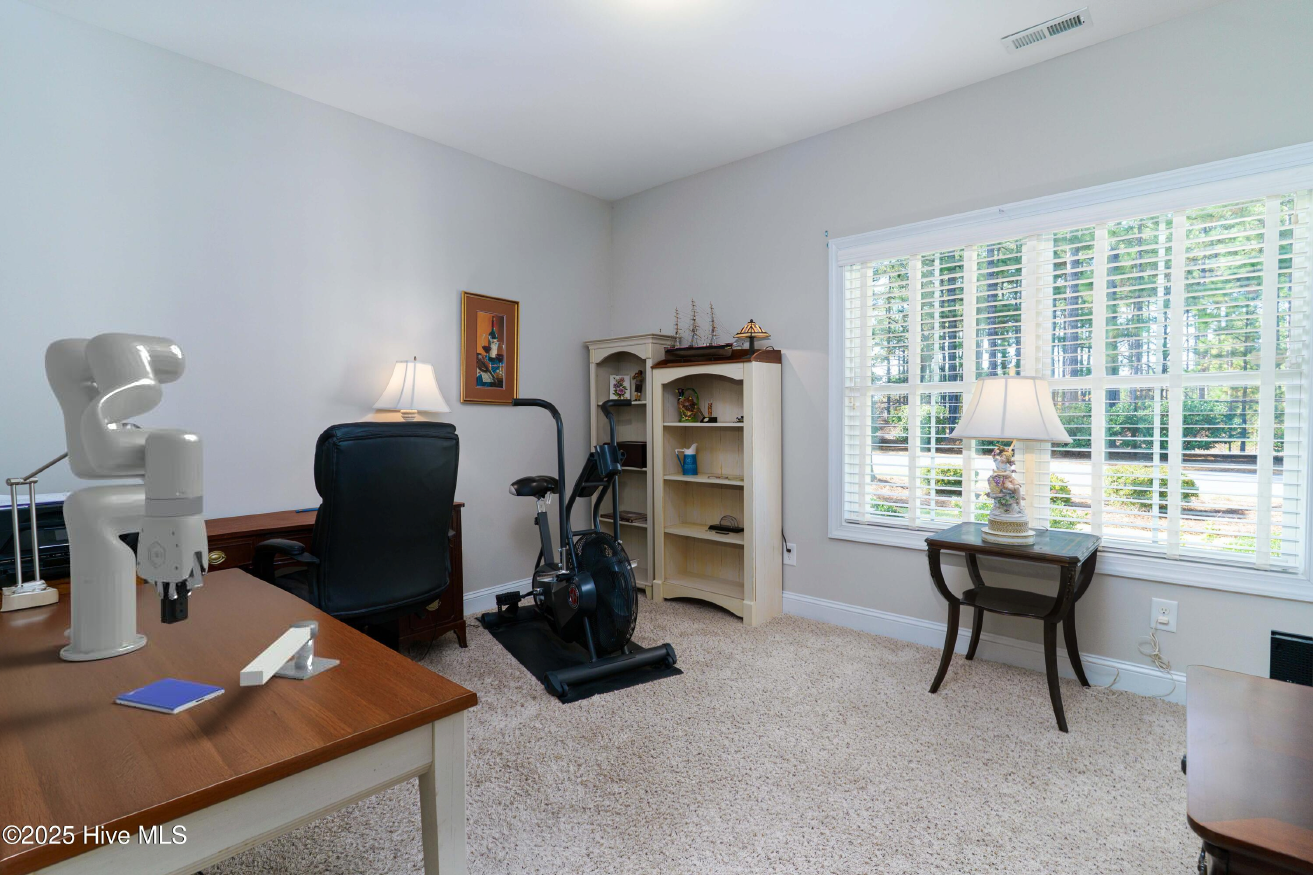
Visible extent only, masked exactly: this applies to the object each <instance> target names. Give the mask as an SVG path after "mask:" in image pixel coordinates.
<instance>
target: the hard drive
mask: <svg viewBox="0 0 1313 875" xmlns="http://www.w3.org/2000/svg"><path fill="white" fill-rule="evenodd" d="M222 693H223V694H225V688H224V687H220V686H213V685H208V684H203V683H199V682H198V683H197V682H193V681H186V680H182V679H181V680H179V679H175V678H170V677H167V678H164V679H160V680H158V681H155V682H152V683H150V684H147V685H145V686H144V685H143V686H142V687H138V688H136V689H133V690H130V691H128V692H125V693H122V694H119V695H118V696H117V697H116V701H115V703H116V704H120V703H121V704H120V705H127V706H131V707H135V706H136V707H135V708H141V709H147V710H151V711H152V710H153V711H157V712H162V713H167V714H172V715H173V714H178V713H179V712H181V711H184V710H187V709H189V708H191V707H193V706H196V705H199V704H201V703H204V702H205V700H206V701H207V700H210V699H213V698H215V696H216V697H218V696H221V695H222ZM217 695H218V696H217Z"/></svg>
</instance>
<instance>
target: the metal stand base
mask: <svg viewBox="0 0 1313 875" xmlns="http://www.w3.org/2000/svg"><path fill="white" fill-rule="evenodd" d="M314 637H315V636H314ZM314 637H312V638H310V639H309V640H308V641H307V642H306V643H305V644H304V645H303V646H302V647H301V648H300V649H298V650H297V651H296V652H295V653H294V654H293V656H294V659H293V660H290V661H288V662H285V663H284V664H283V665H282V666H281V667H280V668H279V669H278V670H277V671H276V672H275V673H274V674H273V675H272V676H274V675H275V677H281V678H289V679H294V678H296V680H301V679H303V680H302V681H305V680H307V679H309V678H311V677H313V676H316V675H317V674H320V673H322V672H324V671H326V670H328V669H331V668H333V667H335V666H337V665H339V664H340V659H334V658H326V657H319V656H314V655H315V654H314V652H315V651H314V650H315V649H314V648H315V647H314V646H315V645H314V642H315V641H314Z"/></svg>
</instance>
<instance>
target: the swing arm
mask: <svg viewBox="0 0 1313 875" xmlns="http://www.w3.org/2000/svg"><path fill="white" fill-rule="evenodd" d="M318 635H319V622H318V621H317V620H302V621H296V622H294V623H291V624H290V625H289V629H288V630H287V631H286V632H285V633H284V634H282V635H281V636H280V637H279V638H278V639H277V640H276V641H274V642H273V643H272V644H271V645H270V646H268V648H266V649H264V651H263V652H261V653H260V654H259V655H258V656H257V657H256V658H255V659H253V660H252V661H251V662H250V663H249V664H248V665H247V666H245V667H244V668H243V669H241V671H240V672H239V686H240V687H246V686H258V685H264V684H265V683H266V682H267V681H268V680H269V679H270V678H271V677H272V676H274V675H273V674H274V673H275V672H276V671H277V670H278V669H279V668H280V667H281V666H282V665H283V664H285V663H287V661H289V659H291V658H292V656H294V653H295V652H296V651H297V650H298V649H300V648H301V647H302V646H303V645H304V644H305V643H306V642H307V641H308V640H309V639H310V638H312V637H316V636H318Z"/></svg>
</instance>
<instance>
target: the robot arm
mask: <svg viewBox="0 0 1313 875" xmlns="http://www.w3.org/2000/svg"><path fill="white" fill-rule="evenodd" d="M44 368H45V374H46V377H47V381H48V384H49V386H50V389H51V391H52V392H53V394H54V396H55V398H56V399H57V401H58V404H59V406H60V409H61V411H62V414H63V422H64V431H65V441H66V449H67V457H68V458H67V460H68V464H69V468H70V470H71V474H73V476H74V477H76V478H77V479H80V480H86V481H110V480H111V481H112V480H133V479H139V480H141V481H142V482H143V483H134V484H125V483H124V484H109V485H107V484H106V485H95V486H88V487H83V488H80V489H76V490H74V491H73V492H71V493H70V494H68V495H67V496H66V498H65V500H64V502H63V504H62V512H63V519H64V524H65V527H66V528H65V529H66V533H67V539H68V544H69V546H68V547H69V559H70V560H69V561H70V569H69V570H70V620H71V621H70V623H71V624H70V628H69V629H66V630H65V631H64V633H63V635H64V637H66V638H69V639H70V640H69V641H70V644H68V645H66V646H64V647H63V648H62V649H61V650H60V651H59V652H60V653H59V657H60V658H61V659H62V660H65V661H72V662H73V661H74V662H81V661H94V660H101V659H107V658H111V657H116V656H121V655H124V654H127V653H131V652H134V651H136V650H138V649H140V648H142V647H144V646H145V645H146V644H147V636H145V635H144V634H141V633H137V575H138V577H140V578H141V579H144V580H147V582H148V583H150V584H151V585H153V586H155V588H156V589H157V595H158V598H159V599H160V622H161V624H167V625H173V624H175V623H179V622H183V621H186V620H188V618H189V596H190V595H191V594H192V590H193V589H195V588H200V587H203V584H204V582H203V577H204V576H206V574H207V572H208V567H209V549H208V548H209V545H208V536H207V535H208V534H207V527H206V522H205V517H204V440H203V437H202V436H201V434H199V433H197V432H194V431H187V430H185V429H181V428H153V427H152V428H147V427H146V428H144V427H143V428H129V427H128V428H124V427H123V421H127V420H130V419H133V418H136V417H138V416H141V415H144V414H146V413H148V412H150V411H153V409H154V408H156V407H157V406H158V405H159V404H160V402H161V401H162V399H163V395H164V394H163V389H162V386H161V385H164V384H170V383H174V382H177V381H178V380H179V379H180V378H181V377H182V376H183V374H184V372H185V369H186V358H185V353H184V351H183V349H182V347H181V346H180V345H179V344H178V343H177V342H176V341H175V340H173V339H171V338H170V337H169V338H168V337H165V336H156V335H155V336H154V335H145V334H137V333H136V334H135V333H134V334H133V333H124V332H107V333H106V332H105V333H101V334H100V333H99V334H97V335H95V336H94V337H91V338H81V337H80V338H79V337H77V338H74V337H71V338H69V337H68V338H62V339H58V340H55V341H53V342H51V343H49V345H48V347H47V348H46V350H45V354H44ZM130 533H139V534H138V541H137V553H136V555H135V553H134V551H133V550H132V548H131V547H130V546H129V545H127V544H126V543H125V542H124V541H122V540H121V539H120V537H119V536H120V535H124V534H125V535H126V534H130Z"/></svg>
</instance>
